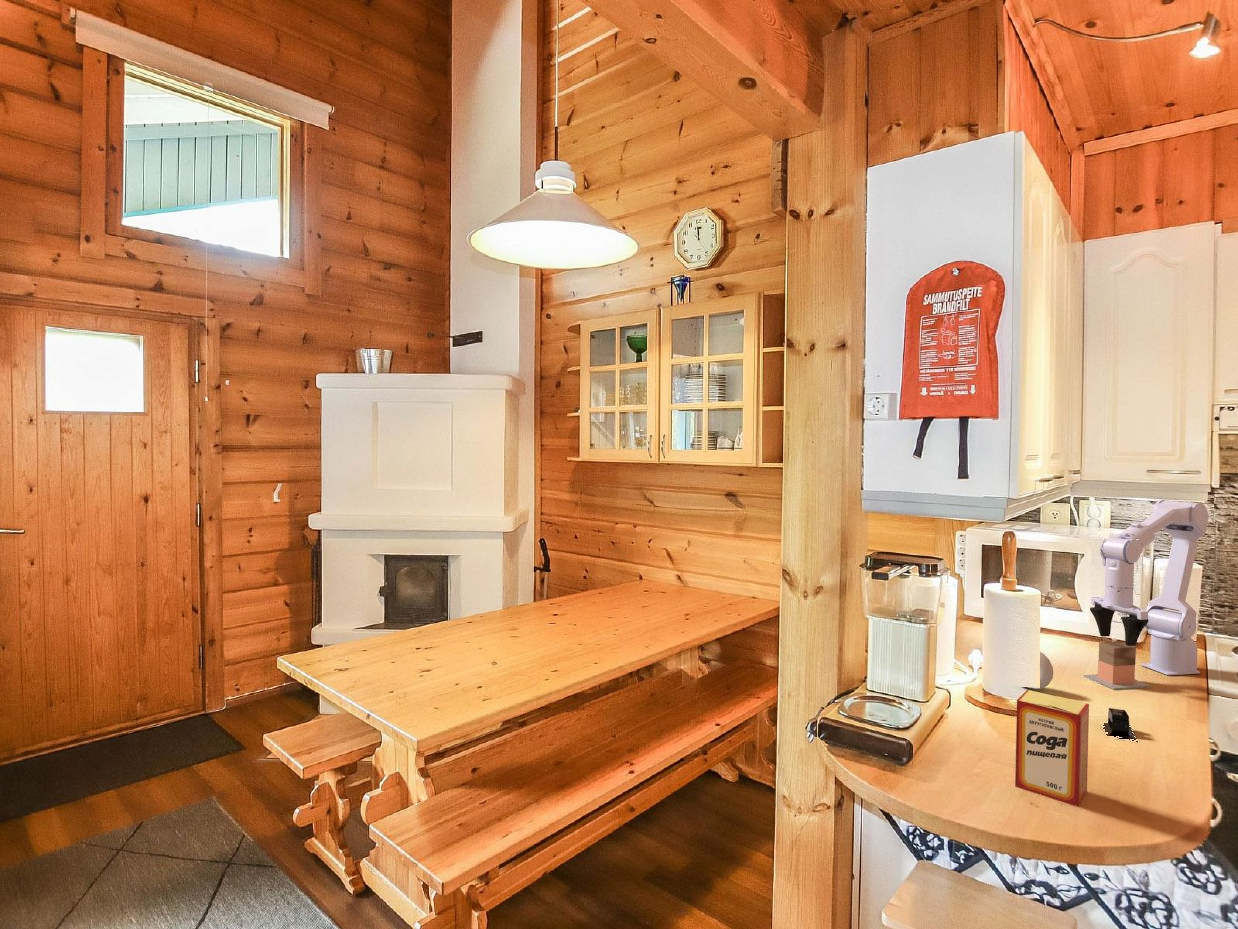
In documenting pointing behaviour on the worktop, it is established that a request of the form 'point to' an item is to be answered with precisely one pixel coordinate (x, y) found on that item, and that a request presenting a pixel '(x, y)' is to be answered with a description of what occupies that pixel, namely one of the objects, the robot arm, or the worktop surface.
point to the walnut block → (1117, 653)
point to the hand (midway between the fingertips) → (1117, 640)
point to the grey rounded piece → (1045, 671)
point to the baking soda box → (1052, 746)
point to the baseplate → (1118, 686)
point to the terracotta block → (1116, 673)
